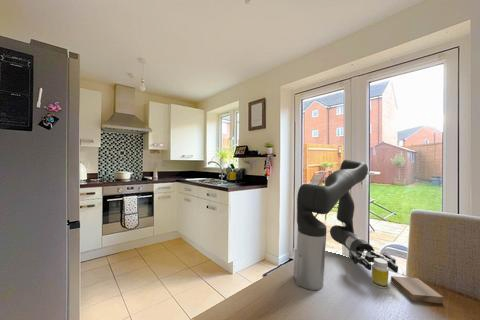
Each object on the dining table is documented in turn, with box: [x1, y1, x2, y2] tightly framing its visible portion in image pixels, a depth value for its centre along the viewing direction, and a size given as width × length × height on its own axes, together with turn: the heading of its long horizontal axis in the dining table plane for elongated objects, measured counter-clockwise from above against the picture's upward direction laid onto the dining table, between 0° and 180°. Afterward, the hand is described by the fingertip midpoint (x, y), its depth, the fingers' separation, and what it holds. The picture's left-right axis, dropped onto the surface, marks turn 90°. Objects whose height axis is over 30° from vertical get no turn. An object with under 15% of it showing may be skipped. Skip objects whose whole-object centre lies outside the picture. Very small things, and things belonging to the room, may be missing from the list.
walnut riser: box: [390, 275, 444, 304], centre depth 70 cm, size 9×10×2 cm
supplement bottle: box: [370, 258, 389, 289], centre depth 73 cm, size 5×5×8 cm
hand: (383, 268), depth 71 cm, fingers open, 8 cm apart
